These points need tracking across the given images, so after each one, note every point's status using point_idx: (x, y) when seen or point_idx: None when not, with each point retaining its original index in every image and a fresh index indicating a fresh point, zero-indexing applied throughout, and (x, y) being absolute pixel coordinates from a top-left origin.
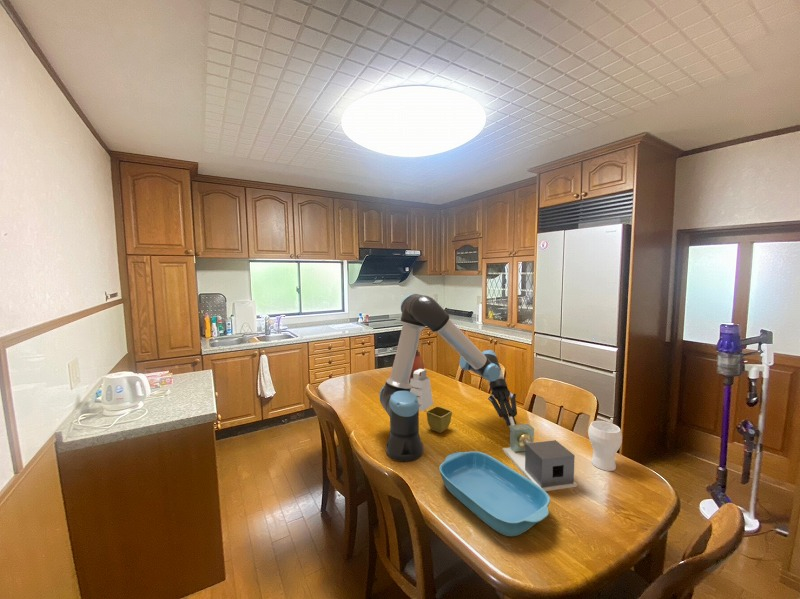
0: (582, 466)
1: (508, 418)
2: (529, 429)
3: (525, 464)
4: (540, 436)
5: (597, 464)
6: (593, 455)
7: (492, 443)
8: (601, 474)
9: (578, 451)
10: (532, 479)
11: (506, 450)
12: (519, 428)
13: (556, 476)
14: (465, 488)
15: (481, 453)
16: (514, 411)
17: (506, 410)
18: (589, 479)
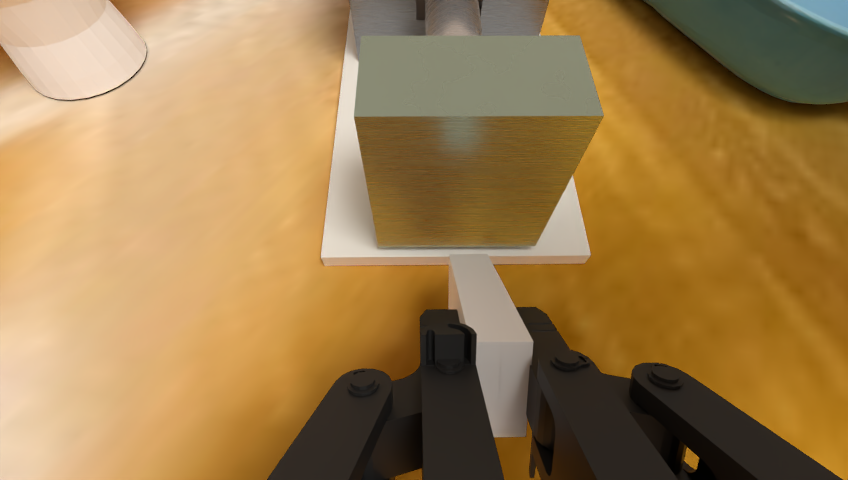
0: (205, 68)
1: (531, 354)
2: (413, 43)
3: (540, 28)
4: (133, 418)
5: (135, 36)
6: (95, 36)
7: None
8: (181, 20)
9: (74, 173)
10: None
11: (570, 225)
12: (519, 53)
13: None
14: (844, 12)
15: (846, 28)
16: (376, 412)
17: (581, 433)
18: (265, 7)
